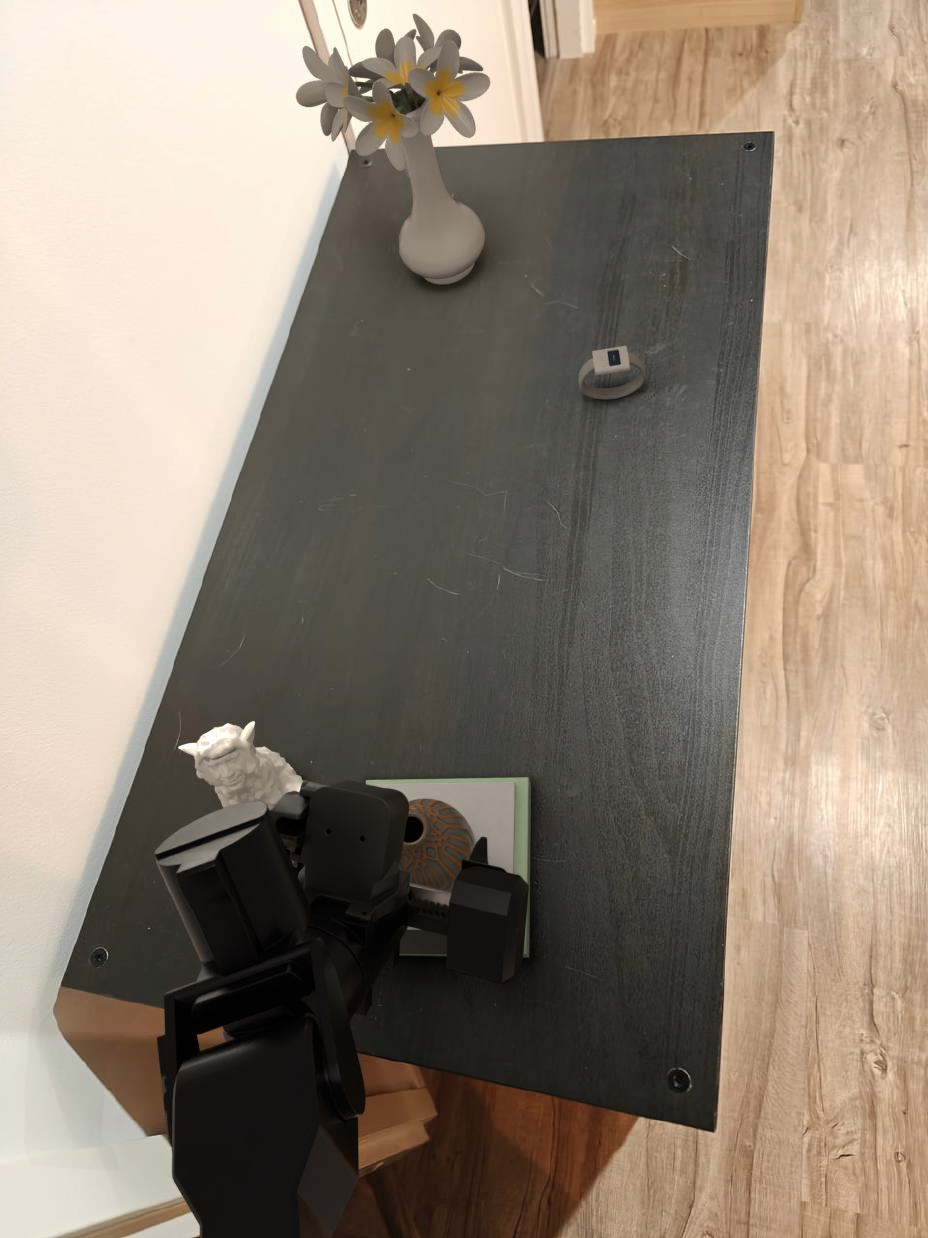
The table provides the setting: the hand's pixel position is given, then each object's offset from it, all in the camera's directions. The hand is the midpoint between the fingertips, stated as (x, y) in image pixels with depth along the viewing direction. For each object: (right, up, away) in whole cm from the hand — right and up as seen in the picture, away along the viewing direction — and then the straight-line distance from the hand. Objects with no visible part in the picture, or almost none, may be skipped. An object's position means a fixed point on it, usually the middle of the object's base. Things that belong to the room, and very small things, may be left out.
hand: (419, 829), depth 64 cm
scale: (+2, -5, +8) cm, 10 cm away
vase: (+1, -4, +7) cm, 8 cm away
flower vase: (+1, +52, +39) cm, 66 cm away
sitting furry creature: (-13, -1, +13) cm, 19 cm away
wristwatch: (+17, +36, +27) cm, 48 cm away
